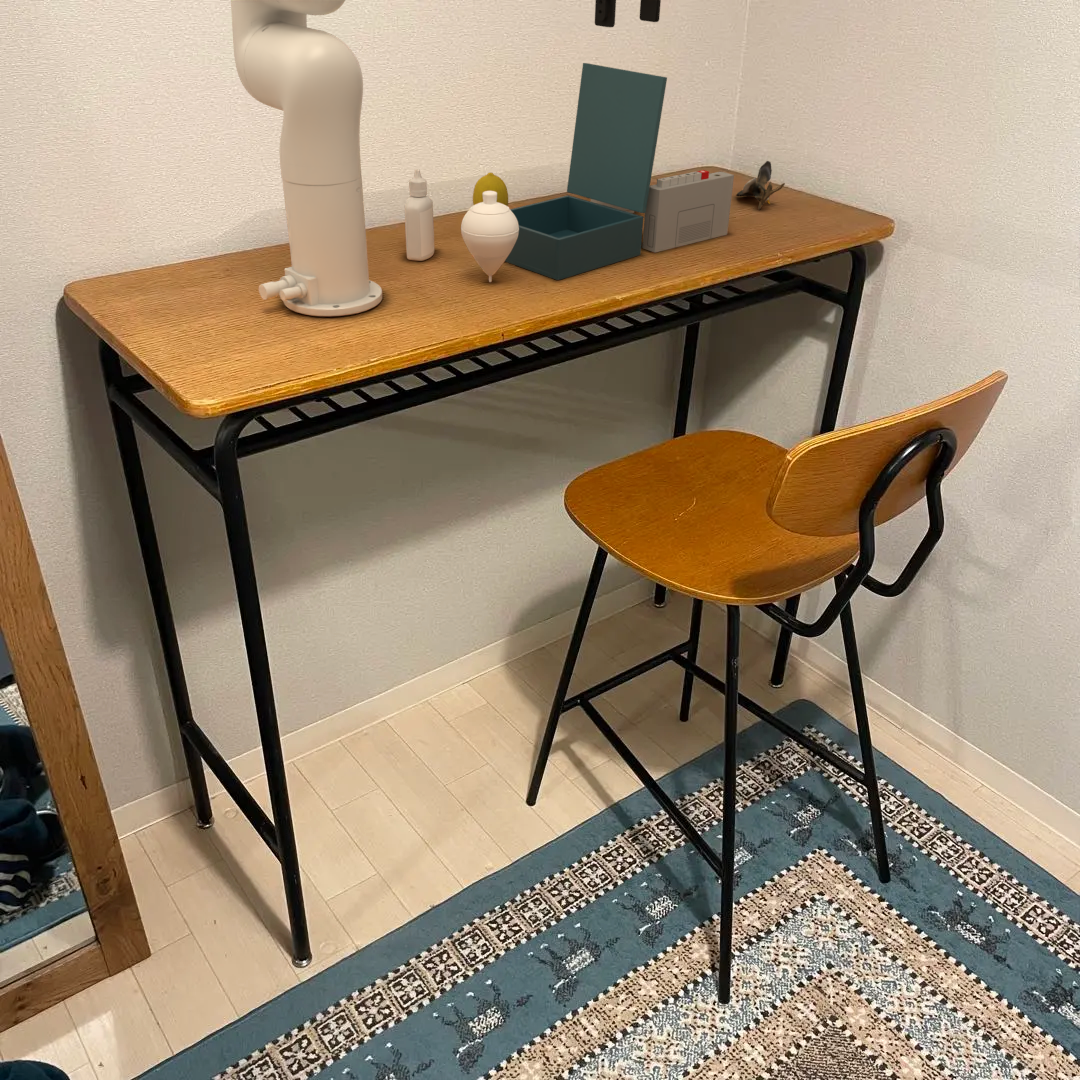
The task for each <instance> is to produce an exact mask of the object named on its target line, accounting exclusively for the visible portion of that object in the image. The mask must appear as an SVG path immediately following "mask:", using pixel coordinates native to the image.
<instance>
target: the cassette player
mask: <svg viewBox="0 0 1080 1080" xmlns="http://www.w3.org/2000/svg"><path fill="white" fill-rule="evenodd" d="M734 179H735V174H731V173H728V172H726V171H716V172H712V173H711V172H710V171H709V170H706V169H701V170H695V171H691V172H687V173H682V174H681V173H680V174H676V175H671V176H666V177H661V178H657V179H656V184H652V185H651V184H650V188H649V194H648V200H647V206H646V213H644V216H643V230H642V244H641V249H644V250H646V251H649V252H651V253H659V252H663V251H667V250H671V249H674V248H679V247H683V246H688V245H691V244H694V243H699V242H703V241H708V240H711V239H715V238H719V237H723V236H727V235H728V231H729V224H730V223H729V222H730V214H731V205H732V197H733V188H734Z"/></svg>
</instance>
